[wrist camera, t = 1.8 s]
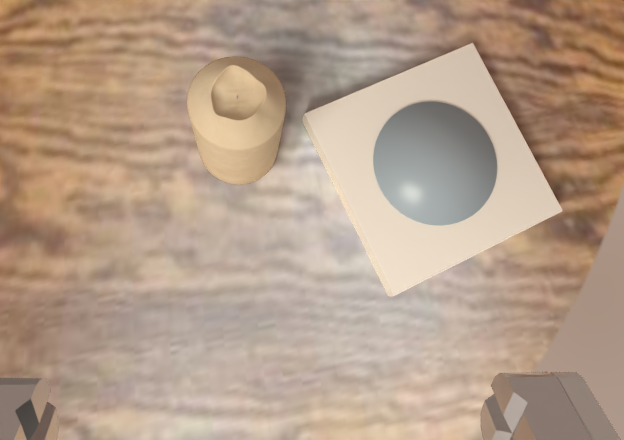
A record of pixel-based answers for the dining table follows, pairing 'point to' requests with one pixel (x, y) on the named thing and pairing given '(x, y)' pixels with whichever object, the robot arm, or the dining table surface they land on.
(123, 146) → the dining table surface
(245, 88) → the candle
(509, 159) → the base board
